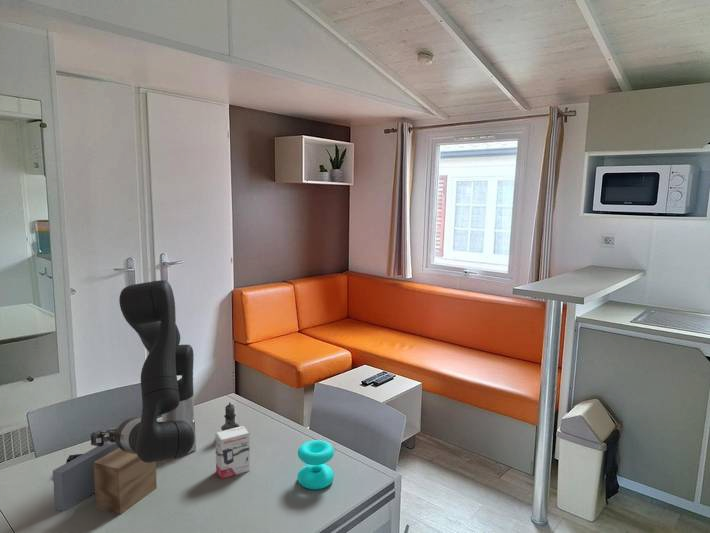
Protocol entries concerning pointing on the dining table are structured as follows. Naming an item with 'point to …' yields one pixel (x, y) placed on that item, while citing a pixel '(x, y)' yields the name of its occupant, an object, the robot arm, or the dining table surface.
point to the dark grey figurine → (229, 418)
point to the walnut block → (122, 481)
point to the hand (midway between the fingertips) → (118, 431)
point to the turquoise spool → (315, 464)
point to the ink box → (232, 452)
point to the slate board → (77, 477)
